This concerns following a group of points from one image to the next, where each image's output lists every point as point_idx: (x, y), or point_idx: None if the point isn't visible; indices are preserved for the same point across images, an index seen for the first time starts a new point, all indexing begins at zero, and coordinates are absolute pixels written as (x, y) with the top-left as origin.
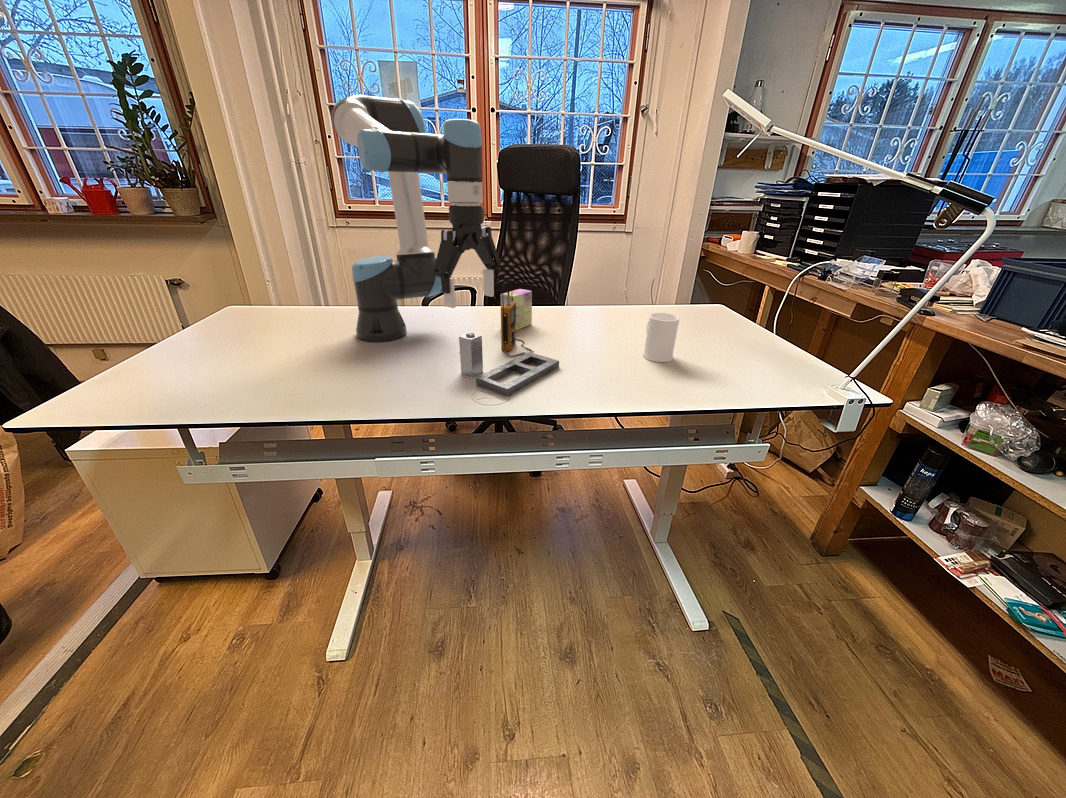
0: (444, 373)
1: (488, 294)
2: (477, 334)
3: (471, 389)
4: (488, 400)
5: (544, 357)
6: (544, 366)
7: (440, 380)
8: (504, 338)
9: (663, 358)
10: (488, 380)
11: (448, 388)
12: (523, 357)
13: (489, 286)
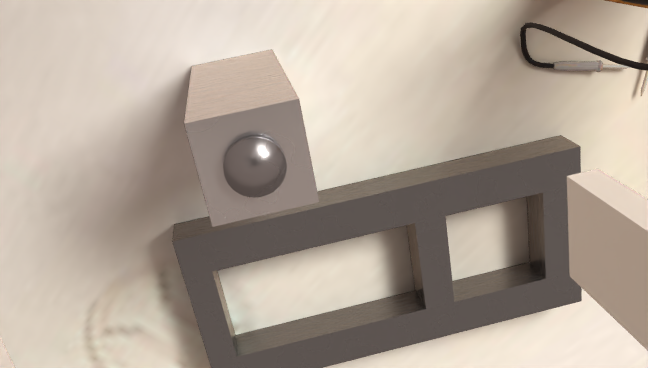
0: (112, 11)
1: (576, 244)
2: (311, 167)
3: (133, 246)
4: (139, 357)
5: None
6: (490, 311)
7: (51, 77)
8: (563, 38)
9: None
10: (203, 296)
11: (45, 179)
12: (507, 182)
13: (633, 305)
